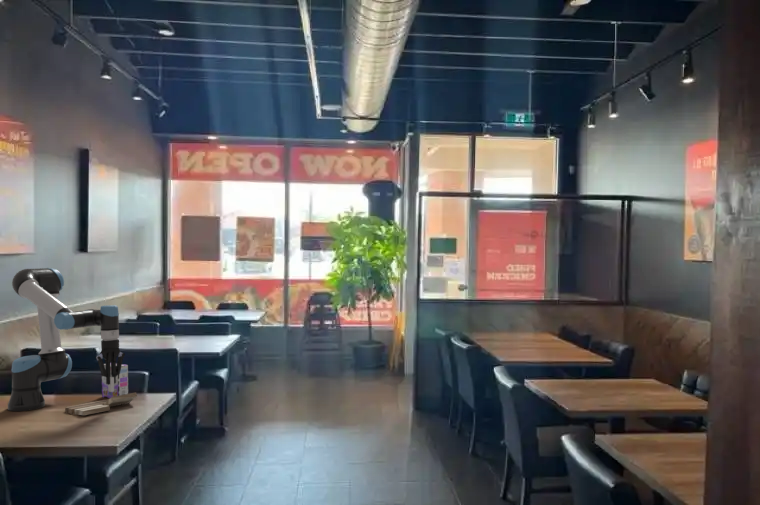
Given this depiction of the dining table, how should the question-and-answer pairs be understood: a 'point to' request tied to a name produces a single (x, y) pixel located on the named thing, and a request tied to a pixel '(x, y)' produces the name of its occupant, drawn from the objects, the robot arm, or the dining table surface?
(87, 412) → the plank
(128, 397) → the plank
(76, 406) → the floor board
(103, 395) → the candy box
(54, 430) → the dining table surface
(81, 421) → the dining table surface
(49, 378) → the robot arm
